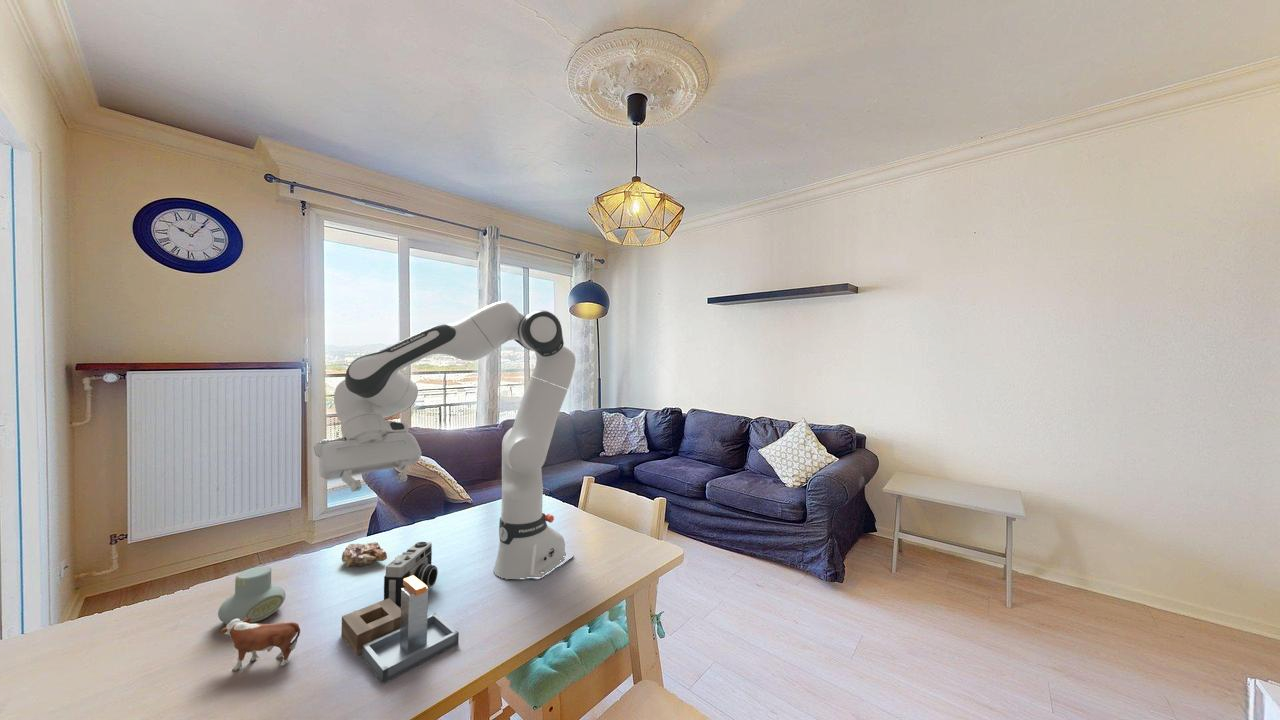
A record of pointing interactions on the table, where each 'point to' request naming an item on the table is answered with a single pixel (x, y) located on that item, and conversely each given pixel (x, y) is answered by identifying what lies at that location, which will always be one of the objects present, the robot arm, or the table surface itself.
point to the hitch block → (370, 624)
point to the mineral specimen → (363, 554)
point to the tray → (392, 658)
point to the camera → (409, 570)
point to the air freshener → (252, 597)
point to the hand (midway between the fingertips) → (381, 485)
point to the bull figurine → (261, 638)
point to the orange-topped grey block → (413, 615)
